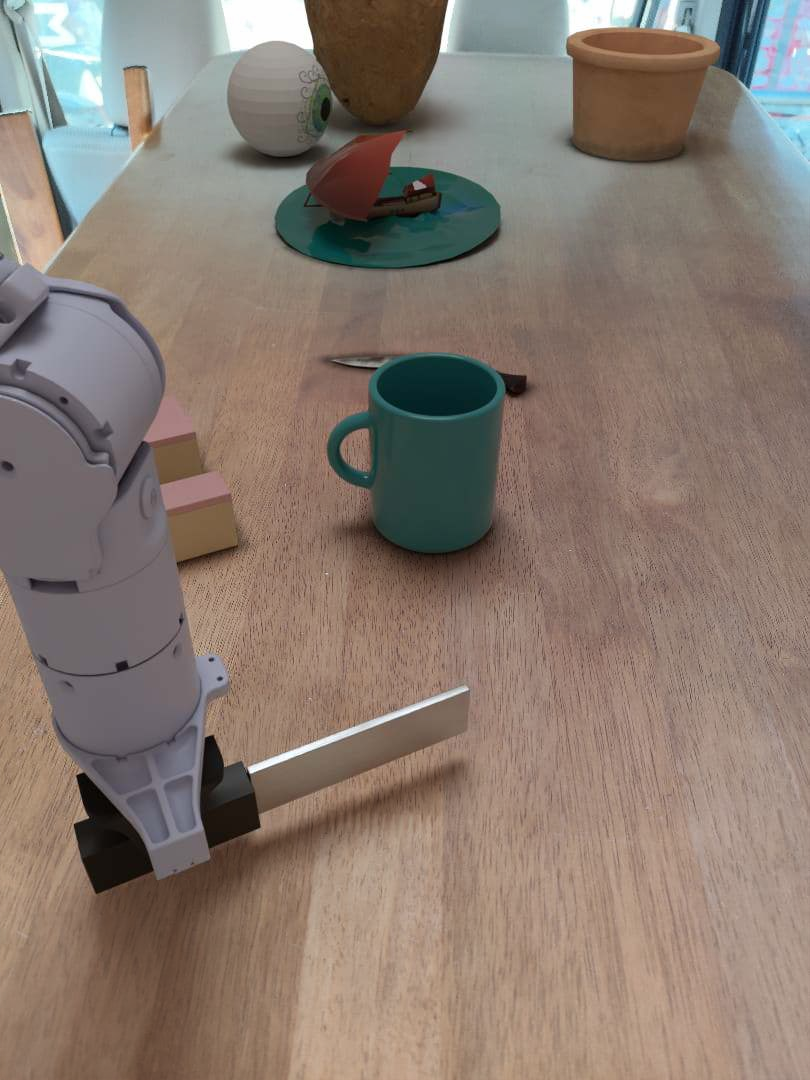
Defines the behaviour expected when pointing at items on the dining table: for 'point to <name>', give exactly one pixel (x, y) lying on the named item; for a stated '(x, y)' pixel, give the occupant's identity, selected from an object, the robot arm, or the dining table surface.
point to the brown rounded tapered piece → (377, 52)
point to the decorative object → (279, 98)
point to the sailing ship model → (384, 209)
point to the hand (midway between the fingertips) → (165, 827)
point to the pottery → (636, 89)
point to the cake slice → (199, 515)
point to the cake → (173, 443)
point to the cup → (429, 450)
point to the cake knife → (285, 781)
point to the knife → (510, 381)
